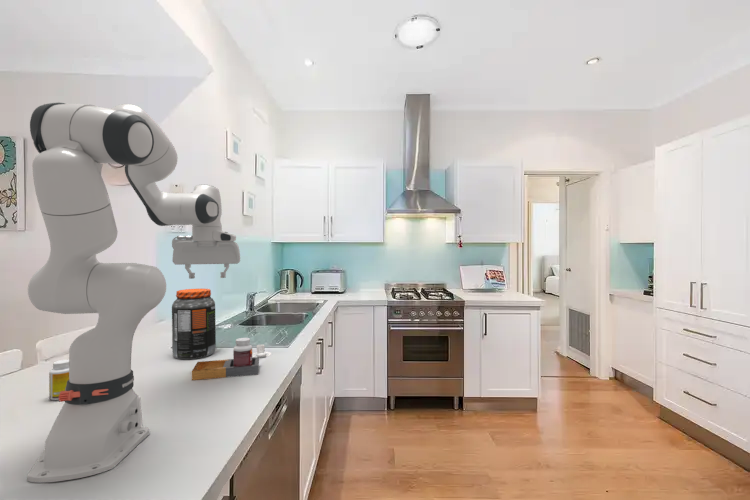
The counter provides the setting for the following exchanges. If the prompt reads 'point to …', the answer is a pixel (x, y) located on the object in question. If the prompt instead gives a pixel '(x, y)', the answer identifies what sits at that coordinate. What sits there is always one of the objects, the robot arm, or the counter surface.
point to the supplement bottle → (58, 378)
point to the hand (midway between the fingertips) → (207, 278)
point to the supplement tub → (193, 324)
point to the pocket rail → (223, 369)
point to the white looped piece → (261, 351)
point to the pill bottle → (242, 352)
